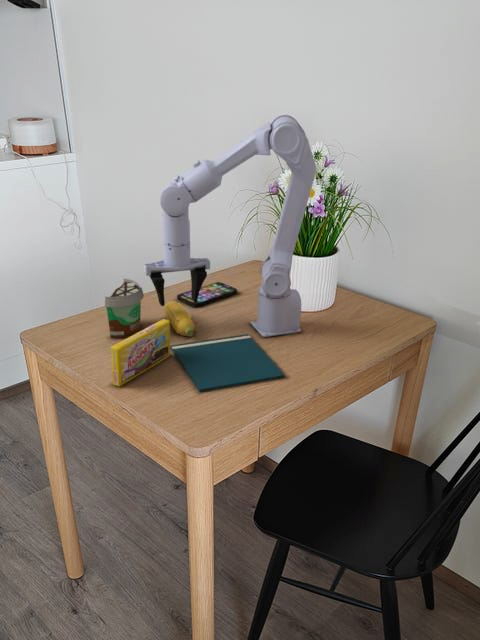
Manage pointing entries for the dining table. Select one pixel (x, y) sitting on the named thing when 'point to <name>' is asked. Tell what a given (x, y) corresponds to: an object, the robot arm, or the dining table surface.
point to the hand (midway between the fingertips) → (178, 302)
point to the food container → (125, 309)
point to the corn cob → (179, 318)
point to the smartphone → (208, 294)
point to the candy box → (140, 352)
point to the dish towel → (225, 362)
